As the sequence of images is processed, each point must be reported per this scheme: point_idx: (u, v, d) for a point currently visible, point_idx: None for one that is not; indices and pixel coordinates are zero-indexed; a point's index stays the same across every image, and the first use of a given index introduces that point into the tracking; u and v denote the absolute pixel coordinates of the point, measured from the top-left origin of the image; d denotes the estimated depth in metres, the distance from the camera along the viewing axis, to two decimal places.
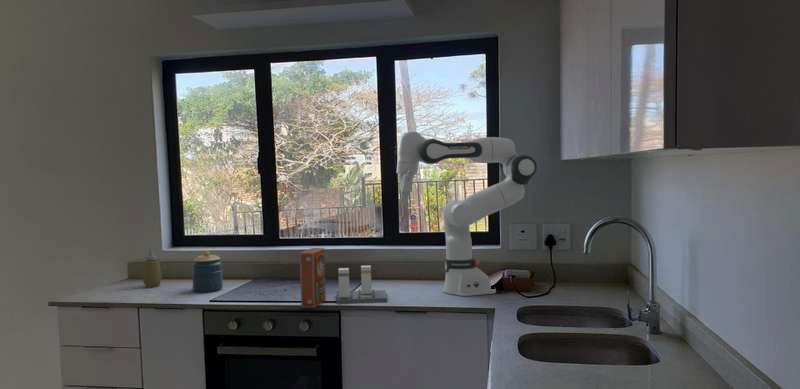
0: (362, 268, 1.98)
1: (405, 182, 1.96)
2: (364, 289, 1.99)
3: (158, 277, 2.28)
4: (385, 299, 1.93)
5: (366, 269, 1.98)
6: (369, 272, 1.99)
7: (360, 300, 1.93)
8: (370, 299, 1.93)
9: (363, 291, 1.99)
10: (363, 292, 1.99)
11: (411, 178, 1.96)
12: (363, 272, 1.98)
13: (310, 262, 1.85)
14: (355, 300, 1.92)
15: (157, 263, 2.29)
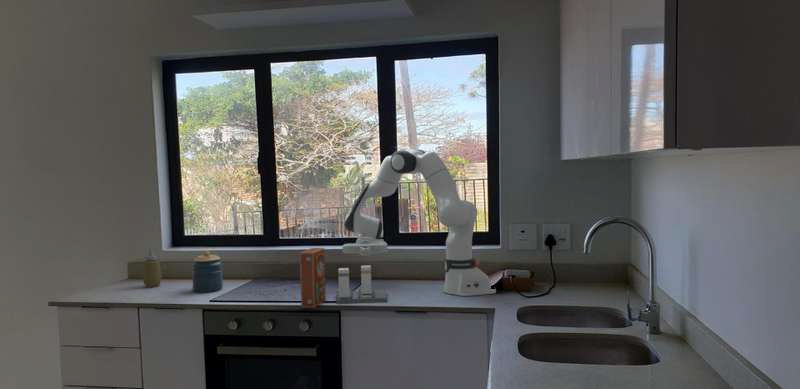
0: (362, 268, 1.98)
1: None
2: (364, 289, 1.99)
3: (158, 277, 2.28)
4: (385, 299, 1.93)
5: (366, 269, 1.98)
6: (369, 272, 1.99)
7: (360, 300, 1.93)
8: (370, 299, 1.93)
9: (363, 291, 1.99)
10: (363, 292, 1.99)
11: None
12: (363, 272, 1.98)
13: (310, 262, 1.85)
14: (355, 300, 1.92)
15: (157, 263, 2.29)
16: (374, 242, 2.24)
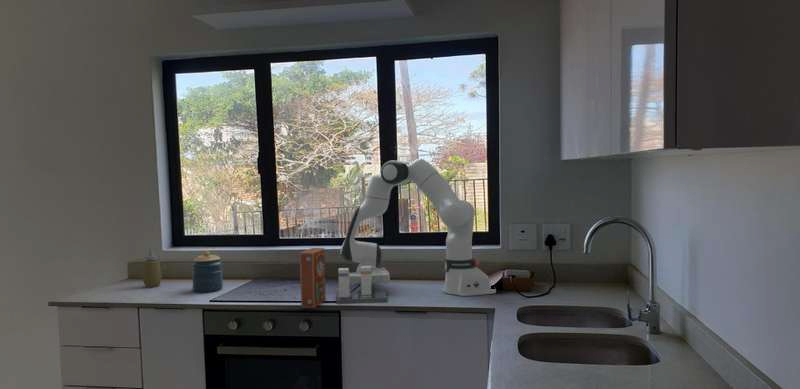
0: (362, 269, 1.97)
1: None
2: (364, 290, 1.97)
3: (158, 277, 2.28)
4: (385, 299, 1.93)
5: (366, 270, 1.97)
6: (369, 273, 1.97)
7: (360, 300, 1.93)
8: (370, 299, 1.93)
9: (363, 292, 1.97)
10: (363, 293, 1.97)
11: None
12: (363, 273, 1.97)
13: (310, 262, 1.85)
14: (355, 300, 1.92)
15: (157, 263, 2.29)
16: (376, 271, 2.12)
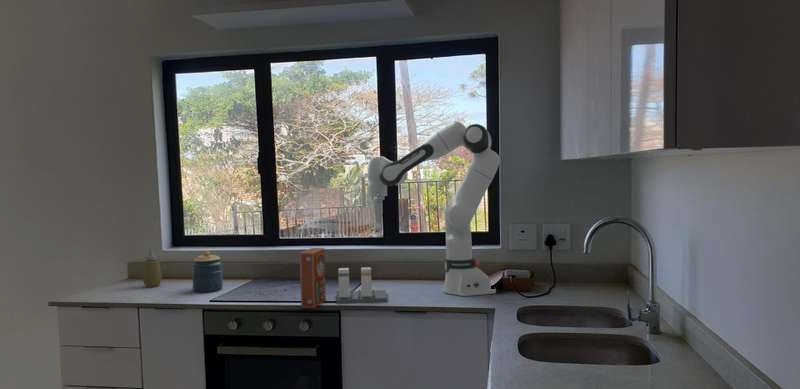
0: (362, 270, 1.94)
1: (375, 205, 2.11)
2: (364, 292, 1.94)
3: (158, 277, 2.28)
4: (385, 299, 1.93)
5: (366, 271, 1.94)
6: (369, 274, 1.94)
7: (360, 300, 1.93)
8: (370, 299, 1.93)
9: (363, 294, 1.94)
10: (363, 295, 1.94)
11: (381, 200, 2.12)
12: (363, 274, 1.94)
13: (310, 262, 1.85)
14: (355, 300, 1.92)
15: (157, 263, 2.29)
16: None
